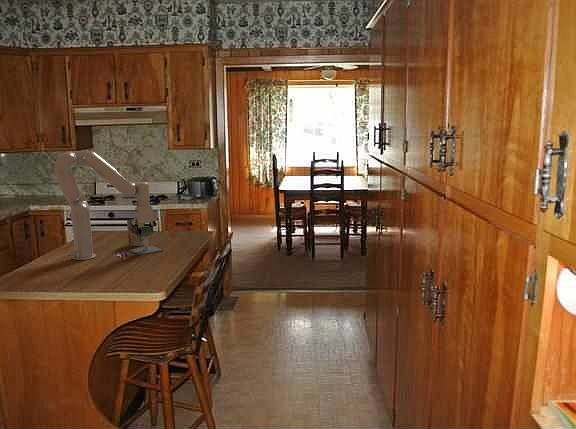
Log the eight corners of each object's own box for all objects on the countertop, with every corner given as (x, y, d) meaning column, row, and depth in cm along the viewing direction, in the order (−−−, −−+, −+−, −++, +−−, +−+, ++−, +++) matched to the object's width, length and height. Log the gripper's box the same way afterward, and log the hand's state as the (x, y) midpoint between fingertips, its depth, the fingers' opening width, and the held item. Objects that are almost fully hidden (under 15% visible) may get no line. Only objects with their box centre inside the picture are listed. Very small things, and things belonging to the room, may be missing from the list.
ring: (143, 236, 287) (142, 229, 286) (138, 234, 292) (137, 227, 291) (153, 234, 291) (152, 227, 290) (148, 233, 296) (147, 225, 295)
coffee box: (146, 244, 312) (145, 219, 309) (140, 246, 306) (139, 220, 303) (134, 243, 315) (132, 218, 312) (128, 245, 309) (126, 220, 306)
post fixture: (140, 255, 283) (139, 238, 282) (130, 251, 294) (128, 234, 292) (162, 251, 293) (161, 234, 291) (151, 247, 303) (150, 231, 301)
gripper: (132, 205, 280) (134, 236, 283) (159, 202, 291) (161, 231, 294) (126, 204, 285) (128, 234, 288) (153, 201, 296) (155, 230, 300)
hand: (145, 233), depth 291 cm, fingers closed on ring, 6 cm apart
